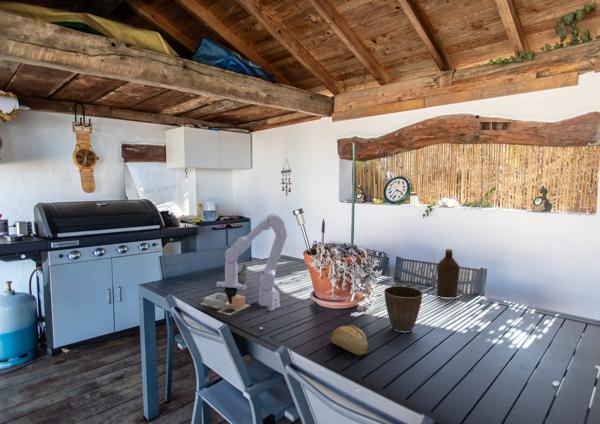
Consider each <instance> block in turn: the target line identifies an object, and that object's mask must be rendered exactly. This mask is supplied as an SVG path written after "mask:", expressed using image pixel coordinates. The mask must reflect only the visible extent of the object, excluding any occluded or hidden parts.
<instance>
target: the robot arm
mask: <svg viewBox="0 0 600 424" xmlns="http://www.w3.org/2000/svg"><path fill="white" fill-rule="evenodd" d="M269 230H273V232H274V233H275V237H274V241H273V244H272V246H271V249H270V252H269V256H268V258H267V262H266V265H265V267H264V268H263V271H262V272H261V273H260V275H259V277H258V280H259V282H260V285H259V287H258V305H259V306H261V307H265V308H264V310H265V311H271V312H272V311H274V310H276V309H277V308H279V307H281V304H280V303H281V302H280V297H281V296H280V295H281V294H280V291H279V290H278V289H276V288H275V277H276V270H277V266H278V264H279V260H280V258H281V254H282V252H283V248H284V246H285V242H286V239H287V236H288V232H287V229H286V226H285V222H284V220H283V218H282V217H281V216H280V215H278V214H277V213H275V212H273V213H270V214H268V216H267V217H264V218H263V219H262V220H261V221H260V222H259V223H258V224H257V225H255V227H254V228H253V229H251V231H249V233H248V234H247V235H246V236H241V237H240V236H239V237H238V238H237V240H236V241H235V242H234V243H233V244H232V245H229V248H227V249H226V250H225V252H224V258H225V260H224V264H225V265H224V281H217V282H216V288H218V287H221V288H224V290H223V291H224V294H226V295H227V297H228V300H229V304H232V297H234V296H235V295H237V292H238V291H239V290H243V291H245V290H247V284H245V283H244V284H240V283H238V272H239V271H238V270H239V269H238V268H239V267H238V259H239V257H240V256H241V255H242V254H244V252H246V250H247V249H249V247H251V243H252V241H253V240H255V238H257V237H258V236H259V235H260V234H261V233H262V232H264V231H269Z"/></svg>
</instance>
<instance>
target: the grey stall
mask: <svg viewBox="0 0 600 424" xmlns="http://www.w3.org/2000/svg"><path fill="white" fill-rule="evenodd" d="M215 299H222V300H226V301H229V300H228V297H227V295H226V293H222V292H216V293H213V294H211V295H208V296H205V297H203V302H204V303H206V304H210V305H214V306H217V307H221V308H226V302H222V301H218V300H215Z"/></svg>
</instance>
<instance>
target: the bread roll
mask: <svg viewBox="0 0 600 424" xmlns="http://www.w3.org/2000/svg"><path fill="white" fill-rule="evenodd" d="M330 340H331V343H333V344H334V345H336V346H338V347H340V348H342V349H344V350H346V351H348V352H350V353H352V354H353V355H357V356H363V354H364V355H366V354H367V352H368V350H369V349H368V348H369V343H368V339H367V336H366V334H365V332H364V331H363V330H362V329H360V328H359V327H357V326H355V325H352V324H345V325H342V326H339V327H337V328H336V329H334V330H333V332H332V333H331V335H330Z"/></svg>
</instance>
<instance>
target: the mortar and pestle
mask: <svg viewBox="0 0 600 424" xmlns="http://www.w3.org/2000/svg"><path fill="white" fill-rule="evenodd" d="M241 267H242V268H241V269H240V271H238V283H240V284H244V285H245V283H246V282H247V279H248V273H246V272H247V268H248V267H249V266H248V264H245V263H243V264H242V266H241Z"/></svg>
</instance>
